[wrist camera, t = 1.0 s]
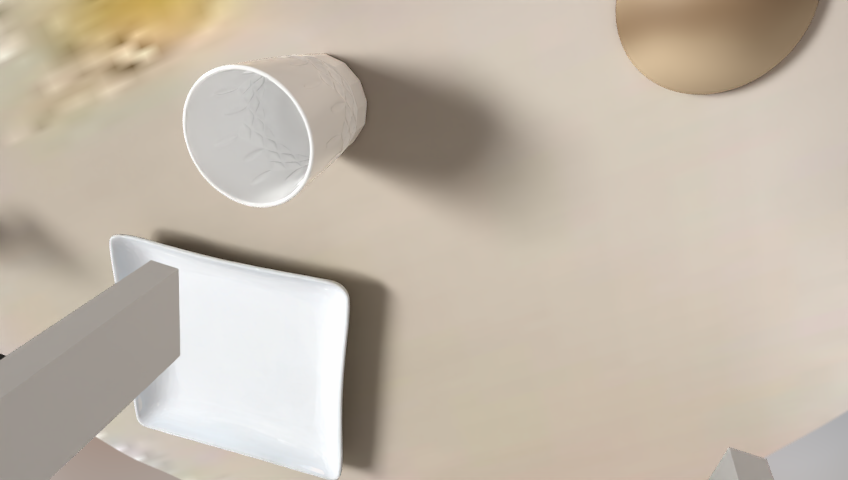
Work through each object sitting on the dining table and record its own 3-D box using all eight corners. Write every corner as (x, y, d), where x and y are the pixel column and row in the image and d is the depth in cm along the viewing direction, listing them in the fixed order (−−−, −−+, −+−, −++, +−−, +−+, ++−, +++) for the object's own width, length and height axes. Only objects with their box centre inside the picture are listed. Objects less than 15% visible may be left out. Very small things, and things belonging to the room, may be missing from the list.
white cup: (369, 40, 37) (300, 61, 28) (382, 157, 40) (323, 209, 31) (261, 46, 39) (166, 68, 30) (281, 157, 42) (201, 206, 33)
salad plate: (364, 267, 45) (348, 288, 42) (353, 459, 54) (339, 487, 51) (132, 216, 49) (102, 232, 46) (159, 403, 58) (136, 426, 55)
